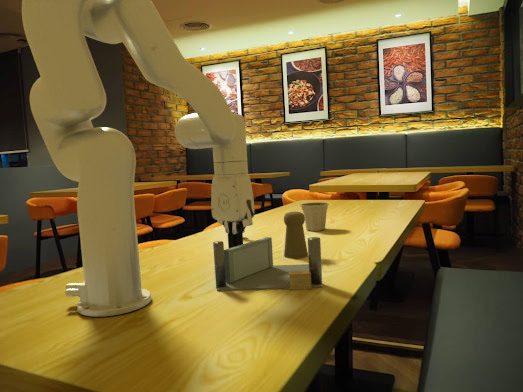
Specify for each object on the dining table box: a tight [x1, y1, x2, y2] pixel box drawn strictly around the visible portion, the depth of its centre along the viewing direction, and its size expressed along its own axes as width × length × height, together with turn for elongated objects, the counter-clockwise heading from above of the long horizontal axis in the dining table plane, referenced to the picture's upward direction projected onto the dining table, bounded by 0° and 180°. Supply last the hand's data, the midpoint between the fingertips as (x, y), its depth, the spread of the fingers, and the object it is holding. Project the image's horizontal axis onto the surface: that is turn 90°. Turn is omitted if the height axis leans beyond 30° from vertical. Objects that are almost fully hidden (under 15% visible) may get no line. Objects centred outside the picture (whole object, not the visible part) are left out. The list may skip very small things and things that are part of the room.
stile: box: [289, 236, 323, 291], centre depth 81 cm, size 6×4×9 cm, turn 86°
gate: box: [224, 236, 274, 283], centre depth 90 cm, size 14×1×6 cm, turn 141°
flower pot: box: [300, 201, 330, 232], centre depth 140 cm, size 9×9×9 cm
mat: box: [216, 263, 323, 292], centre depth 88 cm, size 20×16×1 cm
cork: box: [283, 211, 308, 260], centre depth 105 cm, size 6×6×11 cm
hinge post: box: [212, 240, 226, 289], centre depth 83 cm, size 2×2×9 cm
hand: (236, 249), depth 97 cm, fingers closed
